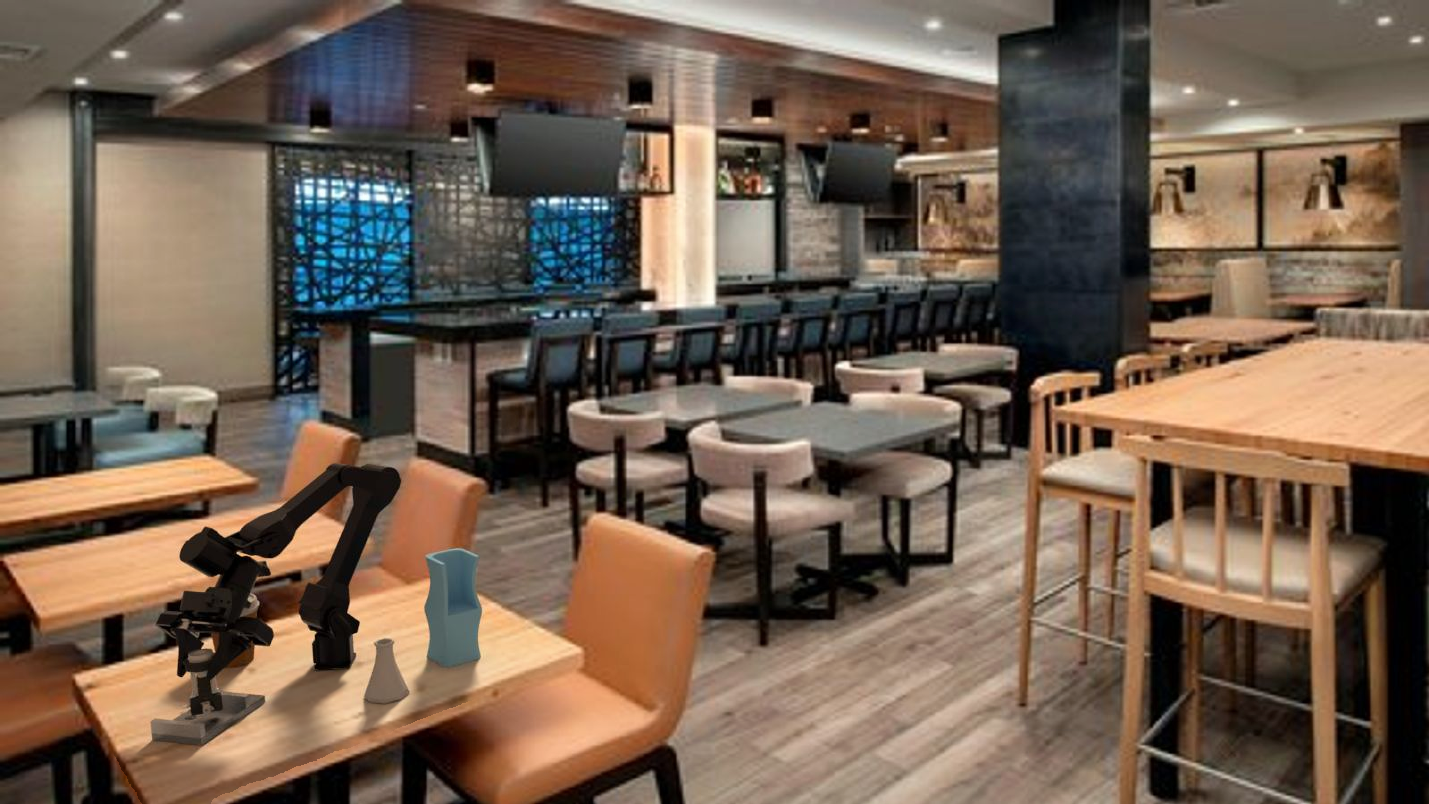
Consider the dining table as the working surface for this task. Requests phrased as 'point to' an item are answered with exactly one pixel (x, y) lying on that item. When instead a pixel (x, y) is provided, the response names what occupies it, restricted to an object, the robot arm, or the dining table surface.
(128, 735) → the dining table surface
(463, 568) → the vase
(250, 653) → the disposable coffee cup
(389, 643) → the flask
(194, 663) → the push button
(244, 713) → the bracket
